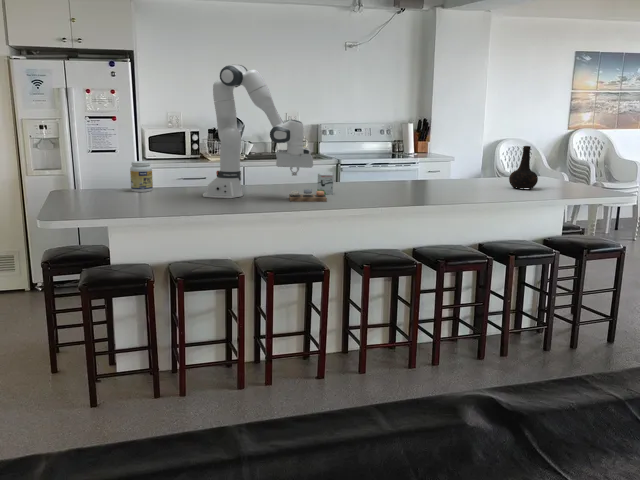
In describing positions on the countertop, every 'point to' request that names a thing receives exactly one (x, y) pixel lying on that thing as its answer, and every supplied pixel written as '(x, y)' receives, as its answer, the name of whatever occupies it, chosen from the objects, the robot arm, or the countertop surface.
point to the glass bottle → (524, 172)
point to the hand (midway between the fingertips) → (294, 175)
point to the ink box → (325, 183)
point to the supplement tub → (141, 176)
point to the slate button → (307, 191)
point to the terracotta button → (320, 193)
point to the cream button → (294, 192)
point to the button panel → (307, 198)
